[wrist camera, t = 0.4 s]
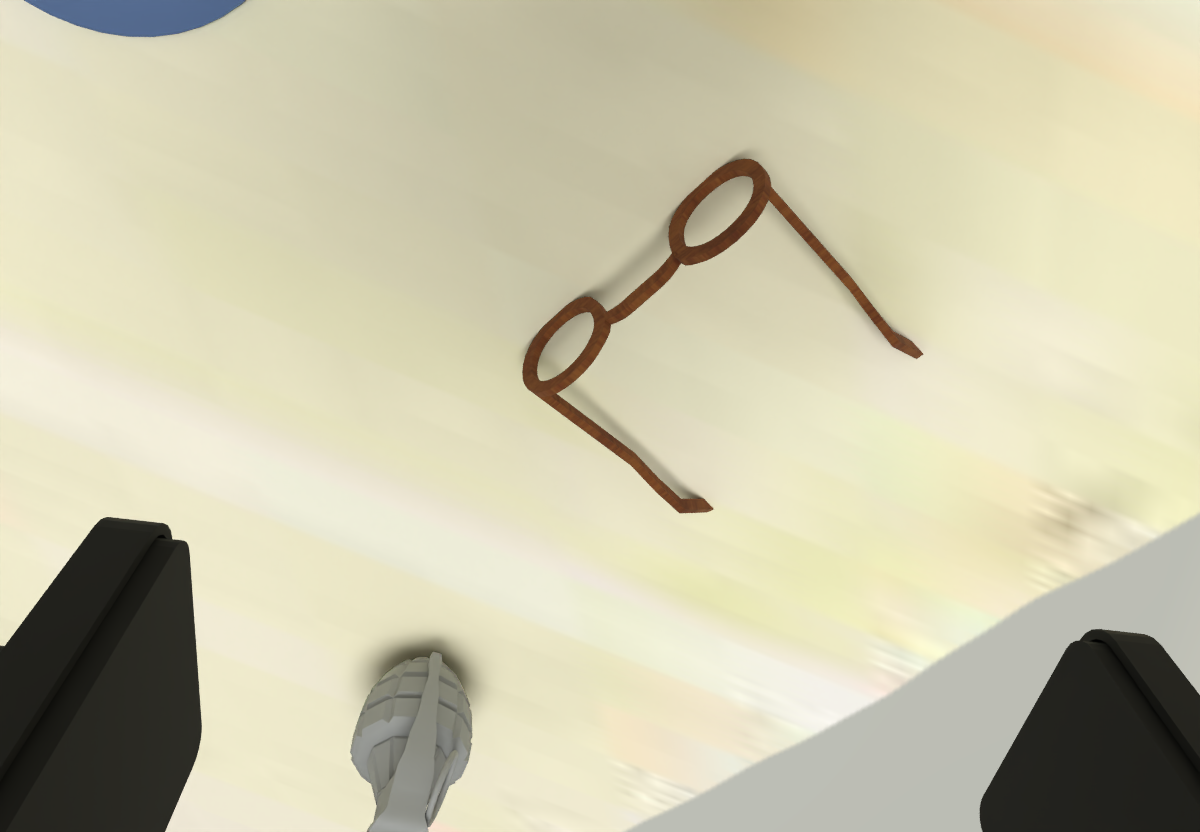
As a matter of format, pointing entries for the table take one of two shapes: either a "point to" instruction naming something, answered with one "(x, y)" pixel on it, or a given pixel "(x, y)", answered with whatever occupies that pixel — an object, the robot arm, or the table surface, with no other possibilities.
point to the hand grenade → (412, 742)
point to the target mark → (138, 14)
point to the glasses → (653, 284)
